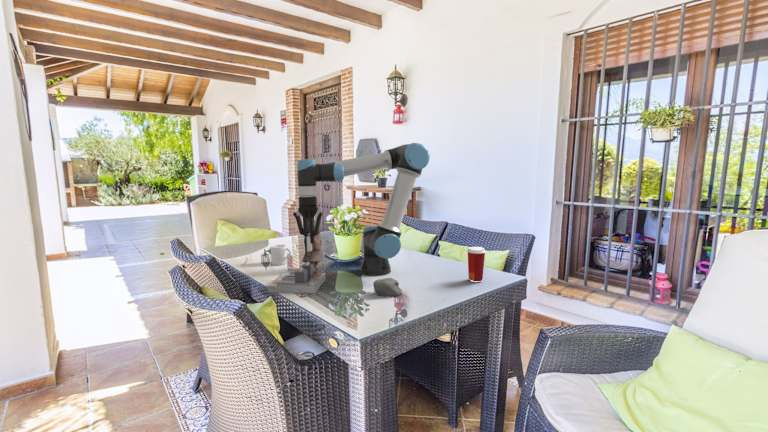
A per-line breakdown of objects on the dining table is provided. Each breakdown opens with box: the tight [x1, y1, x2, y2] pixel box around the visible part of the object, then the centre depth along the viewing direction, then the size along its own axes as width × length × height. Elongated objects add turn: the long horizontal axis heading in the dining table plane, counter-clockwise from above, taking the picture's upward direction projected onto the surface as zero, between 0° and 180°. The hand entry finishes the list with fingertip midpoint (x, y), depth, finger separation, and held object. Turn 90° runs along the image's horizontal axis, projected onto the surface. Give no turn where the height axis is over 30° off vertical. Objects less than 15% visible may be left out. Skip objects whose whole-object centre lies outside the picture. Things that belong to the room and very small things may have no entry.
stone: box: [373, 277, 403, 298], centre depth 156 cm, size 9×9×10 cm
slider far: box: [301, 262, 314, 276], centre depth 172 cm, size 4×5×6 cm
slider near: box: [294, 267, 308, 283], centre depth 162 cm, size 4×5×6 cm
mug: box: [270, 244, 292, 266], centre depth 206 cm, size 8×12×10 cm
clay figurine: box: [302, 220, 325, 271], centre depth 192 cm, size 13×10×25 cm
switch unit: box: [267, 270, 327, 294], centre depth 168 cm, size 20×20×4 cm
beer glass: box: [466, 246, 487, 281], centre depth 172 cm, size 8×8×15 cm
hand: (309, 250), depth 164 cm, fingers closed
